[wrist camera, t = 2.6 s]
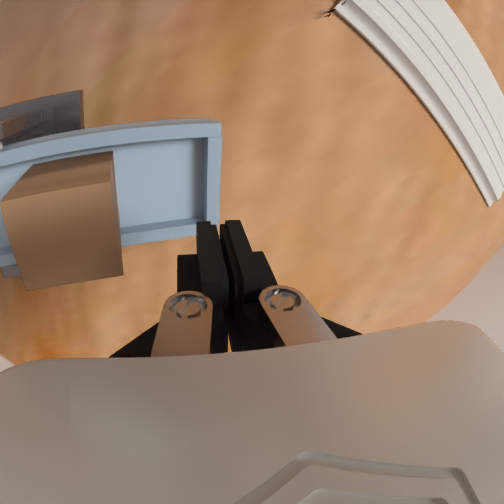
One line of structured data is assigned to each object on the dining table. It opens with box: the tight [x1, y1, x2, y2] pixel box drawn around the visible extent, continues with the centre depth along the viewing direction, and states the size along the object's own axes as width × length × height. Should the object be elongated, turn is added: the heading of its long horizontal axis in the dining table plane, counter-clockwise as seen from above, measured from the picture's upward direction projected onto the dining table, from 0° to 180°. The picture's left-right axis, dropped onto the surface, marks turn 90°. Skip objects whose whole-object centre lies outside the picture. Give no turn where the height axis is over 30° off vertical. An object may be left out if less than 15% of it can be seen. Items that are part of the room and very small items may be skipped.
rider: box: [0, 151, 124, 291], centre depth 13 cm, size 4×5×6 cm
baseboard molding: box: [325, 0, 504, 207], centre depth 22 cm, size 31×3×12 cm
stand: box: [0, 90, 84, 277], centre depth 17 cm, size 12×28×8 cm, turn 86°
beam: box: [0, 118, 222, 267], centre depth 14 cm, size 8×28×3 cm, turn 86°
